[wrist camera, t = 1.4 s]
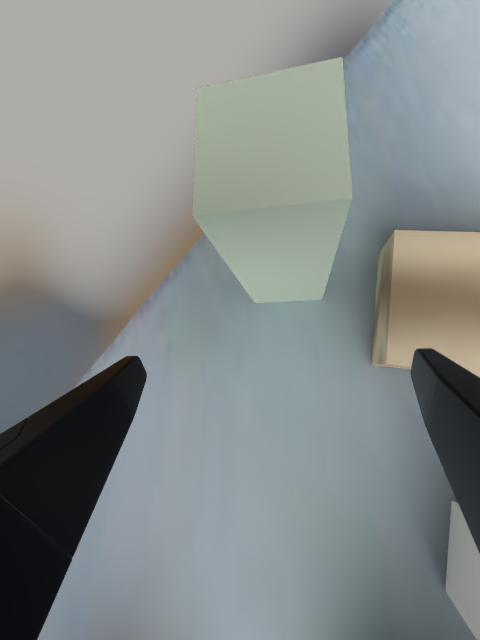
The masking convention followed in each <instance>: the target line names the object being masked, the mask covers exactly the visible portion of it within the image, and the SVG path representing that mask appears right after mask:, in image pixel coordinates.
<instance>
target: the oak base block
mask: <svg viewBox="0 0 480 640" xmlns="http://www.w3.org/2000/svg"><path fill="white" fill-rule="evenodd" d="M418 348H432V349H434V350H436V351H438V352H439V353H441V354H442V355H444V356H446V357H447V358H449V359H451V360H452V361H454V362H455V363H457V364H459V365H460V366H462V367H463V368H465V369H467V370H468V371H470V372H472V373H473V374H475V375H476V376H478V377H480V232H454V231H416V230H394V232H393V233H392V235H391V236H390V238H389V239H388V241H387V242H386V244H385V245H384V247H383V248H382V250H381V251H380V253H379V254H378V268H377V282H376V296H375V310H374V325H373V339H372V353H371V365H376V366H384V367H392V368H400V369H407V370H411V366H412V361H413V356H414V352H415V350H416V349H418Z"/></svg>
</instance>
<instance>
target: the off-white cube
mask: <svg viewBox="0 0 480 640" xmlns="http://www.w3.org/2000/svg"><path fill="white" fill-rule="evenodd" d="M445 591H446V593H447V594H448V596H449V598H450V599H451V601H452V602H453V604H454V605H455V607H456V608H457V610H458V611H459V613H460V615H461V616H462V618H463V619H464V621H465V622H466V624H467V625H468V627H469V629H470V630H471V632H472V633H473V635H474V636H475V638H476V639H477V640H480V554H479V551H478V549H477V547H476V544H475V542H474V539H473V537H472V535H471V532H470V530H469V528H468V525H467V523H466V521H465V518H464V516H463V514H462V511H461V509H460V507H459V504H458V502H455V501H452V502H451V516H450V530H449V545H448V559H447V573H446V588H445Z"/></svg>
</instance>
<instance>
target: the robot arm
mask: <svg viewBox="0 0 480 640" xmlns="http://www.w3.org/2000/svg"><path fill="white" fill-rule="evenodd" d="M146 378H147V374H146V371H145V369H144V366H143V364H142V362H141V360H140V358H139V357H138V356H126V357H124V358H123V359H121V360H120V361H118V362H116V363H115V364H113V365H112V366H110V367H108V368H107V369H105V370H103V371H102V372H100V373H99V374H97V375H95V376H94V377H92V378H91V379H89V380H87V381H86V382H84V383H82V384H81V385H79V386H78V387H76V388H74V389H73V390H71V391H70V392H68V393H66V394H65V395H63V396H62V397H60V398H58V399H57V400H55V401H53V402H52V403H50V404H49V405H47V406H45V407H44V408H42V409H40V410H39V411H37V412H36V413H34V414H32V415H31V416H29V418H26V419H24V420H23V421H21V422H19V423H18V424H16V425H14V426H13V427H11V428H9V429H8V430H6V431H5V432H3V433H1V434H0V640H37V639H38V637H39V634H40V632H41V630H42V627H43V625H44V623H45V620H46V618H47V616H48V614H49V611H50V609H51V607H52V604H53V602H54V600H55V598H56V595H57V593H58V591H59V588H60V586H61V584H62V581H63V579H64V577H65V575H66V572H67V570H68V568H69V565H70V563H71V561H72V557H73V556H74V554H75V551H76V549H77V547H78V544H79V542H80V540H81V538H82V535H83V533H84V531H85V528H86V526H87V524H88V522H89V519H90V517H91V515H92V512H93V510H94V508H95V506H96V503H97V501H98V499H99V496H100V494H101V492H102V490H103V487H104V485H105V483H106V480H107V478H108V476H109V473H110V471H111V469H112V467H113V464H114V462H115V460H116V457H117V455H118V453H119V451H120V448H121V446H122V444H123V441H124V439H125V437H126V435H127V432H128V430H129V428H130V425H131V423H132V421H133V418H134V416H135V413H136V410H137V407H138V404H139V401H140V397H141V394H142V391H143V388H144V385H145V382H146ZM411 378H412V382H413V385H414V389H415V392H416V396H417V399H418V403H419V406H420V410H421V413H422V417H423V420H424V423H425V426H426V428H427V431H428V434H429V436H430V438H431V441H432V443H433V445H434V448H435V450H436V452H437V455H438V457H439V459H440V462H441V464H442V467H443V469H444V471H445V474H446V476H447V478H448V481H449V483H450V485H451V488H452V490H453V492H454V495H455V497H456V499H457V502H458V504H459V507H460V509H461V511H462V514H463V516H464V518H465V521H466V523H467V525H468V528H469V530H470V532H471V535H472V537H473V539H474V542H475V544H476V547H477V549H478V551H479V554H480V377H478V376H476V375H475V374H473V373H472V372H470V371H468V370H467V369H465V368H463V367H462V366H460V365H459V364H457V363H455V362H454V361H452V360H451V359H449V358H447V357H446V356H444V355H442V354H441V353H439V352H438V351H436V350H434V349H432V348H418V349H416V350H415V352H414V356H413V361H412V366H411Z"/></svg>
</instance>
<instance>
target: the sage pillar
mask: <svg viewBox="0 0 480 640" xmlns="http://www.w3.org/2000/svg"><path fill="white" fill-rule="evenodd" d="M194 151H195V152H194V183H193V218H194V219H195V221H196V222H197V224H198V225H199V226H200V228H201V229H202V231H203V232H204V233H205V235H206V236H207V237H208V239H209V240H210V242H211V243H212V244H213V246H214V247H215V249H216V250H217V251H218V253H219V254H220V256H221V257H222V258H223V260H224V261H225V263H226V264H227V265H228V267H229V268H230V270H231V271H232V272H233V274H234V275H235V276H236V278H237V279H238V281H239V282H240V283H241V285H242V286H243V288H244V289H245V290H246V292H247V293H248V295H249V296H250V297H251V299H252V300H253V302H254V303H273V302H293V301H314V300H322V299H323V296H324V292H325V289H326V285H327V282H328V279H329V275H330V272H331V269H332V265H333V262H334V259H335V255H336V252H337V249H338V245H339V242H340V239H341V235H342V232H343V229H344V225H345V222H346V218H347V215H348V212H349V208H350V205H351V202H352V198H353V195H352V182H351V168H350V155H349V141H348V128H347V114H346V101H345V87H344V74H343V60H342V57H339V58H335V59H330V60H325V61H321V62H316V63H311V64H307V65H302V66H297V67H293V68H288V69H284V70H279V71H274V72H269V73H265V74H260V75H255V76H251V77H246V78H242V79H237V80H232V81H227V82H223V83H219V84H214V85H209V86H204V87H200V88H196V114H195V148H194Z"/></svg>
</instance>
